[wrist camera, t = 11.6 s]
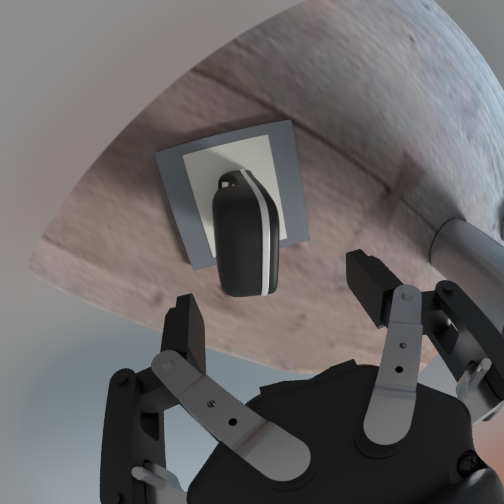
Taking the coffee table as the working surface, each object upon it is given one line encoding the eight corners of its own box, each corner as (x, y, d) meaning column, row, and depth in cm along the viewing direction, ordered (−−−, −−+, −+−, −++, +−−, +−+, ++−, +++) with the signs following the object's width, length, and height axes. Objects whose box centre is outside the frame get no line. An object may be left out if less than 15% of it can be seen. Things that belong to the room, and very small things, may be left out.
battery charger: (209, 168, 24) (212, 210, 14) (250, 166, 25) (282, 205, 15) (214, 237, 28) (221, 312, 18) (251, 234, 28) (278, 305, 18)
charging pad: (288, 119, 24) (291, 119, 23) (306, 236, 30) (310, 240, 30) (155, 152, 24) (153, 153, 23) (193, 265, 30) (193, 271, 29)
